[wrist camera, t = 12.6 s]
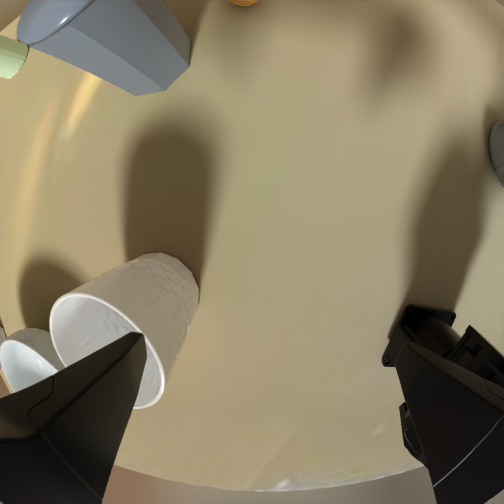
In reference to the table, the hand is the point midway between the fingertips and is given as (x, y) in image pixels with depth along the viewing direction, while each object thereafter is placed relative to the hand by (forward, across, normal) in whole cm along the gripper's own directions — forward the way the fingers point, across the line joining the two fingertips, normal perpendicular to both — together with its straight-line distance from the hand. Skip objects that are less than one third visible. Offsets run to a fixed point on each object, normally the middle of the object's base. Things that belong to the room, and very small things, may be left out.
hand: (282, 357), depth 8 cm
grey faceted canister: (+14, +10, -14) cm, 23 cm away
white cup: (+13, +8, +5) cm, 16 cm away
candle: (+17, +32, -21) cm, 42 cm away
